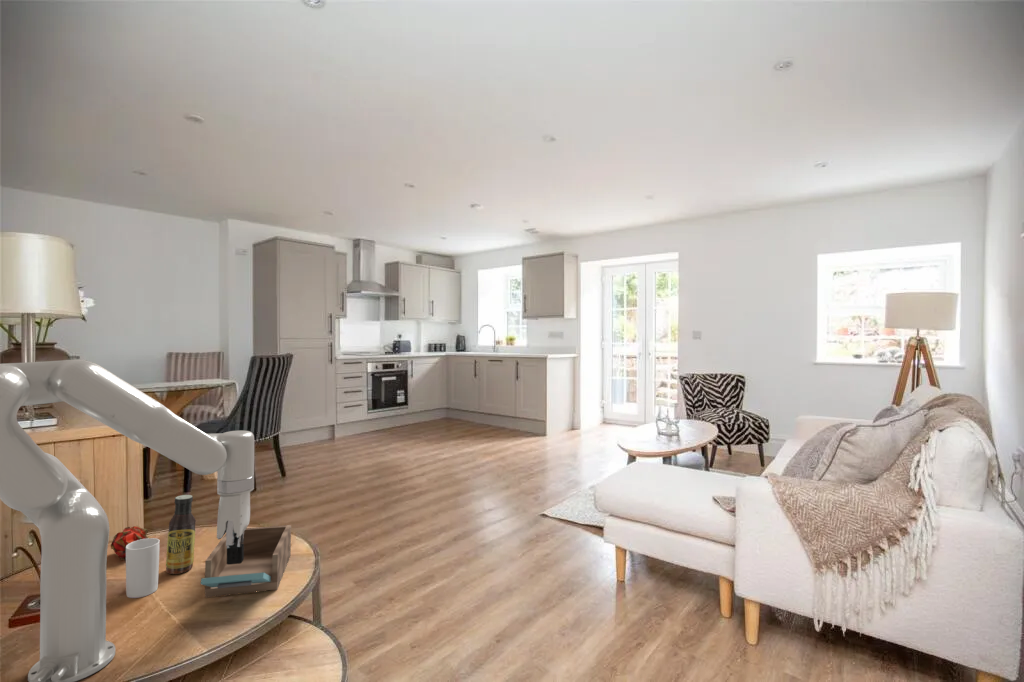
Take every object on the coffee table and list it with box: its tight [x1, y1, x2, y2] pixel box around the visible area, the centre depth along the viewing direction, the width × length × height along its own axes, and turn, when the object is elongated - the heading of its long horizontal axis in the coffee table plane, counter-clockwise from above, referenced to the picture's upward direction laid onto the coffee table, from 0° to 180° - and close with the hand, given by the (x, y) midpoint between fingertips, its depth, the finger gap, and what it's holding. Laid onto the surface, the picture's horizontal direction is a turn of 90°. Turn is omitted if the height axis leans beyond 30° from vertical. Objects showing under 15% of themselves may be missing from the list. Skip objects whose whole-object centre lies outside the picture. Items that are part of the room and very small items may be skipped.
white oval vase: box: [125, 537, 160, 599], centre depth 125 cm, size 10×7×12 cm, turn 24°
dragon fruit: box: [110, 525, 150, 561], centre depth 143 cm, size 8×8×12 cm
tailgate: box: [200, 572, 271, 588], centre depth 119 cm, size 2×13×10 cm
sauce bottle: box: [165, 494, 197, 575], centre depth 135 cm, size 7×6×20 cm
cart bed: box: [204, 524, 292, 598], centre depth 133 cm, size 20×16×9 cm
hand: (235, 562), depth 117 cm, fingers closed
